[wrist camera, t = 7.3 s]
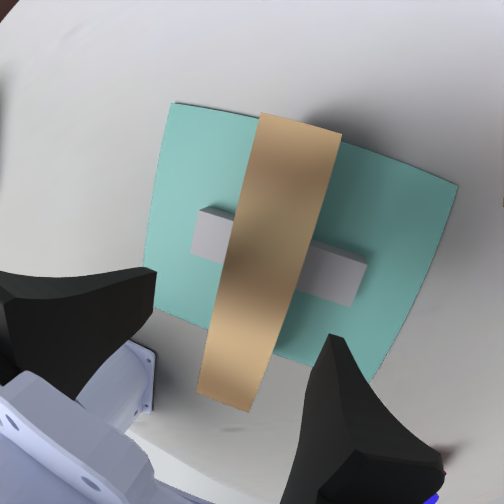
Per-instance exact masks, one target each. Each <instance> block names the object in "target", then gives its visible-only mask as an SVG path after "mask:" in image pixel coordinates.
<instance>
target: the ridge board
mask: <svg viewBox="0 0 504 504" xmlns="http://www.w3.org/2000/svg"><path fill="white" fill-rule="evenodd" d="M258 122H259V119H257V118H252V117H248V116H243V115H238V114H233V113H228V112H223V111H218V110H212V109H207V108H201V107H195V106H188V105H182V104H175V103H171V105H170V109H169V113H168V118H167V122H166V127H165V131H164V136H163V141H162V145H161V150H160V155H159V160H158V166H157V171H156V176H155V182H154V188H153V194H152V200H151V206H150V213H149V220H148V227H147V234H146V242H145V250H144V259H143V267H147V268H149V269H152V270H154V271H157V279H156V287H155V296H154V305H153V307H155V308H157V309H159V310H162V311H164V312H166V313H169V314H171V315H173V316H176V317H178V318H180V319H183V320H185V321H188V322H190V323H193V324H195V325H198V326H200V327H203V328H205V329H208V330H209V327H210V322H211V317H212V313H213V308H214V304H215V299H216V295H217V291H218V286H219V282H220V277H221V273H222V269H223V264H224V260H225V256H226V251H227V247H228V243H229V239H230V234H231V230H232V226H233V222H234V218H235V213H236V209H237V205H238V201H239V197H240V193H241V189H242V185H243V181H244V177H245V173H246V169H247V165H248V161H249V157H250V153H251V149H252V145H253V141H254V137H255V133H256V129H257V125H258ZM457 188H458V186H457V185H454V184H452V183H450V182H448V181H446V180H443V179H441V178H439V177H436V176H434V175H432V174H429V173H427V172H425V171H422V170H420V169H417V168H415V167H412V166H410V165H407V164H405V163H402V162H399V161H397V160H394V159H392V158H389V157H386V156H383V155H381V154H378V153H375V152H372V151H369V150H366V149H363V148H360V147H357V146H354V145H351V144H348V143H345V142H342V141H340V144H339V148H338V152H337V155H336V159H335V162H334V166H333V169H332V173H331V176H330V180H329V183H328V186H327V190H326V193H325V196H324V200H323V203H322V206H321V210H320V213H319V216H318V219H317V223H316V226H315V229H314V232H313V235H312V238H311V241H310V245H309V248H308V251H307V254H306V257H305V260H304V263H303V266H302V269H301V272H300V275H299V278H298V281H297V284H296V287H295V290H294V293H293V296H292V298H291V301H290V304H289V307H288V310H287V313H286V316H285V318H284V321H283V324H282V327H281V330H280V332H279V335H278V338H277V341H276V343H275V346H274V349H273V351H272V353H273V354H275V355H278V356H281V357H284V358H287V359H290V360H293V361H296V362H300V363H303V364H306V365H309V366H312V367H313V366H314V364H315V362H316V360H317V358H318V356H319V354H320V352H321V349H322V347H323V345H324V343H325V341H326V338H327V336H328V334H329V333H330V334H333V335H337V336H340V337H343V338H344V339H345V341H346V343H347V345H348V347H349V349H350V351H351V353H352V355H353V357H354V359H355V361H356V363H357V365H358V367H359V369H360V370H361V372H362V374H363V376H364V377H365V379H366V381H367V382H368V383H370V381H371V380H372V378H373V376H374V375H375V373H376V371H377V370H378V368H379V366H380V365H381V363H382V361H383V359H384V358H385V356H386V354H387V352H388V350H389V349H390V347H391V345H392V343H393V341H394V340H395V338H396V336H397V334H398V332H399V330H400V328H401V326H402V324H403V322H404V320H405V318H406V316H407V314H408V312H409V310H410V308H411V306H412V304H413V302H414V300H415V298H416V296H417V293H418V291H419V289H420V287H421V285H422V282H423V280H424V278H425V276H426V273H427V271H428V269H429V266H430V264H431V261H432V259H433V256H434V254H435V251H436V249H437V246H438V244H439V241H440V238H441V236H442V233H443V230H444V228H445V225H446V222H447V219H448V216H449V213H450V210H451V207H452V204H453V201H454V198H455V195H456V192H457Z"/></svg>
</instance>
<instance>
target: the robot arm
mask: <svg viewBox="0 0 504 504" xmlns="http://www.w3.org/2000/svg"><path fill="white" fill-rule="evenodd" d="M156 279H157V271H154V270H152V269H149V268H147V267H137V268H130V269H124V270H119V271H113V272H107V273H101V274H94V275H87V276H78V277H61V278H54V277H33V276H25V275H18V274H12V273H7V272H3V271H0V504H214V503H211V502H209V501H206V500H203V499H201V498H198V497H195V496H193V495H191V494H188V493H186V492H183V491H181V490H179V489H177V488H174V487H172V486H170V485H168V484H165V483H163V482H161V481H159V480H157V479H155V478H154V469H153V467H152V465H151V462H150V460H149V458H148V455H147V454H146V453H145V452H144V451H143V450H142V449H141V448H140V447H139V446H138V445H137V444H136V442H134V440H132V439H131V438H129V437H128V436H127V435H125V434H124V433H125V432H126V430H127V429H128V428H129V427H130V425H131V424H132V423H133V422H134V420H135V419H136V418H137V416H138V415H139V414H140V413H141V411H142V412H144V413H146V414H150V413H151V412H152V396H153V380H154V367H155V354H154V353H153V352H152V351H150V350H148V349H146V348H144V347H142V346H140V345H138V344H136V343H134V342H132V341H130V340H129V339H130V338H131V337H132V336H133V335H134V334H135V333H136V332H137V331H138V330H139V329H140V328H141V327H142V326H143V325H144V323H145V322H146V321H147V320H148V318H149V317H150V316H151V314H152V313H153V305H154V296H155V287H156ZM149 359H150V360H149ZM444 479H445V475H444V469H443V464H442V458H441V454H440V453H438V452H437V451H435V450H434V449H432V448H431V447H430V446H428V445H427V444H425V443H424V442H422V441H421V440H420V439H418V438H417V437H416V436H415V435H413V434H412V433H411V432H410V431H409V430H407V429H406V428H405V427H404V426H403V425H402V424H401V423H400V422H399V421H398V420H397V419H396V418H395V417H394V416H393V415H392V414H391V413H390V412H389V410H388V409H387V408H386V407H385V406H384V405H383V403H382V402H381V401H380V399H379V398H378V397H377V395H376V394H375V393H374V391H373V390H372V388H371V387H370V385H369V384H368V382H367V381H366V379H365V377H364V376H363V374H362V372H361V370H360V369H359V367H358V365H357V363H356V361H355V359H354V357H353V355H352V353H351V351H350V349H349V347H348V345H347V343H346V341H345V339H344V338H343V337H340V336H337V335H333V334H330V333H329V334H328V336H327V338H326V341H325V343H324V345H323V347H322V349H321V352H320V354H319V356H318V358H317V360H316V362H315V364H314V366H313V369H312V371H311V373H310V377H309V381H308V385H307V389H306V393H305V400H304V408H303V415H302V423H301V431H300V438H299V443H298V448H297V451H296V455H295V459H294V462H293V466H292V469H291V472H290V475H289V478H288V482H287V485H286V488H285V490H284V493H283V496H282V499H281V502H280V504H423V503H424V502H426V501H427V500H428V499H430V498H431V497H432V496H433V495H434V494H435V493H436V492H437V491H439V489H440V488H441V487H442V485H443V483H444Z"/></svg>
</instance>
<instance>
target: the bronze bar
mask: <svg viewBox="0 0 504 504" xmlns="http://www.w3.org/2000/svg"><path fill="white" fill-rule="evenodd" d="M341 137H342V134H340V133H337V132H334V131H330V130H327V129H323V128H320V127H316V126H313V125H309V124H306V123H302V122H298V121H294V120H290V119H286V118H282V117H278V116H274V115H270V114H265V113H261V114H260V118H259V122H258V125H257V129H256V133H255V137H254V141H253V145H252V149H251V153H250V157H249V161H248V165H247V169H246V173H245V177H244V181H243V185H242V189H241V193H240V197H239V201H238V205H237V209H236V213H235V218H234V222H233V226H232V230H231V234H230V239H229V243H228V247H227V251H226V256H225V260H224V264H223V269H222V273H221V277H220V282H219V286H218V291H217V295H216V299H215V304H214V308H213V313H212V317H211V322H210V327H209V331H208V336H207V340H206V345H205V350H204V354H203V359H202V364H201V369H200V373H199V378H198V383H197V388H196V393H199V394H201V395H204V396H206V397H208V398H211V399H213V400H216V401H218V402H221V403H223V404H226V405H229V406H231V407H234V408H237V409H239V410H242V411H245V412H248V413H249V411H250V408H251V406H252V403H253V401H254V398H255V396H256V393H257V391H258V388H259V386H260V383H261V381H262V378H263V375H264V373H265V370H266V367H267V365H268V362H269V359H270V357H271V354H272V351H273V349H274V346H275V343H276V341H277V338H278V335H279V332H280V330H281V327H282V324H283V321H284V318H285V316H286V313H287V310H288V307H289V304H290V301H291V298H292V296H293V293H294V290H295V287H296V284H297V281H298V278H299V275H300V272H301V269H302V266H303V263H304V260H305V257H306V254H307V251H308V248H309V245H310V241H311V238H312V235H313V232H314V229H315V226H316V223H317V219H318V216H319V213H320V210H321V206H322V203H323V200H324V196H325V193H326V190H327V186H328V183H329V180H330V176H331V173H332V169H333V166H334V162H335V159H336V155H337V152H338V148H339V144H340V141H341Z"/></svg>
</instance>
